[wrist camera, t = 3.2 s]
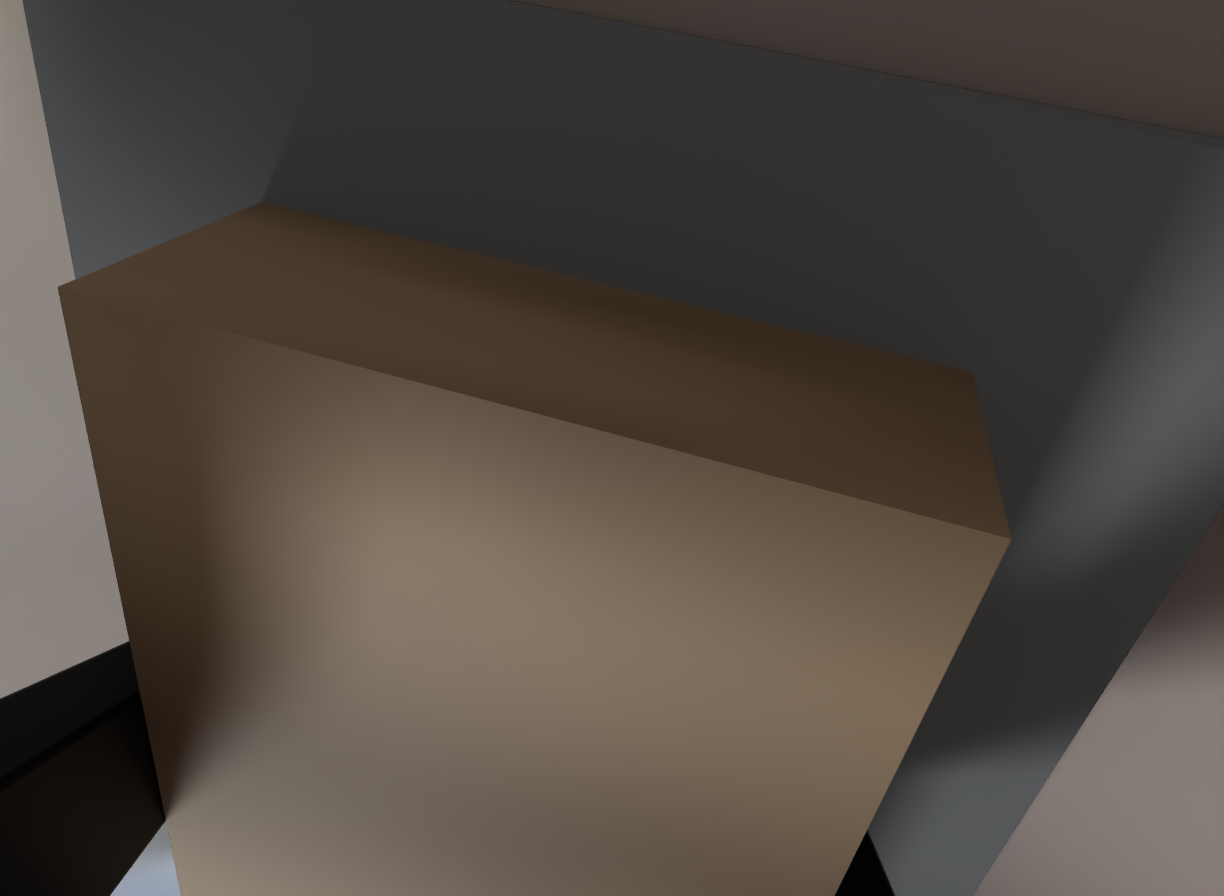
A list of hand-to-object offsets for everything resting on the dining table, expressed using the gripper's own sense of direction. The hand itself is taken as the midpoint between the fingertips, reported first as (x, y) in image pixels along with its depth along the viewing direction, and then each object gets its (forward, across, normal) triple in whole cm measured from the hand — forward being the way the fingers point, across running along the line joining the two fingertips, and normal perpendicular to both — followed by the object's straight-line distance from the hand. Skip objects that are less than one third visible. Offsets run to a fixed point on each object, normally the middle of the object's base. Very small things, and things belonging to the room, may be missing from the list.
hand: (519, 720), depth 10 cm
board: (+1, 0, 0) cm, 1 cm away
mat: (+1, 0, 0) cm, 1 cm away
